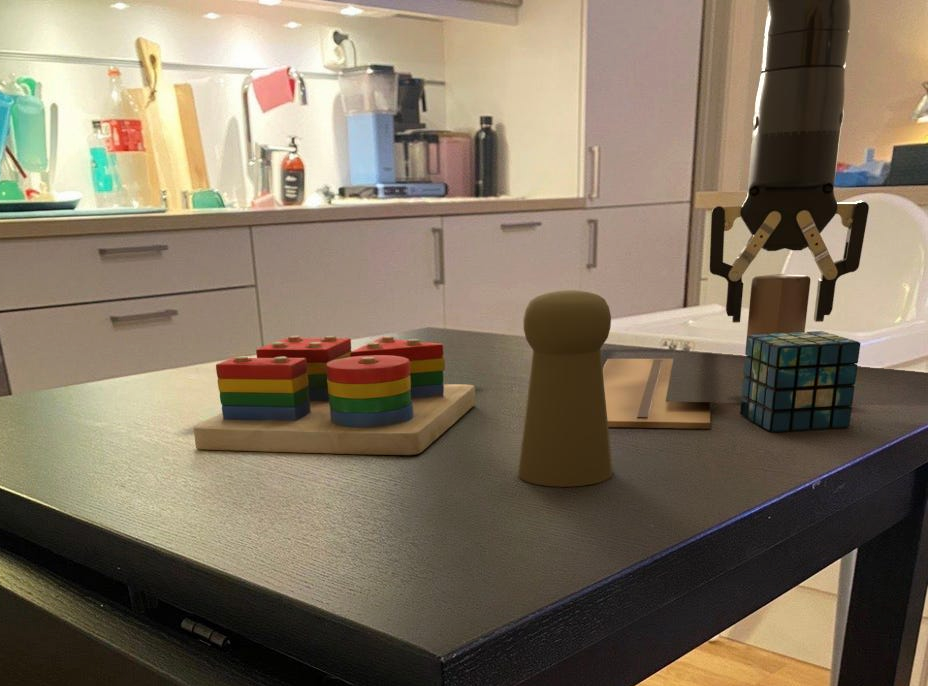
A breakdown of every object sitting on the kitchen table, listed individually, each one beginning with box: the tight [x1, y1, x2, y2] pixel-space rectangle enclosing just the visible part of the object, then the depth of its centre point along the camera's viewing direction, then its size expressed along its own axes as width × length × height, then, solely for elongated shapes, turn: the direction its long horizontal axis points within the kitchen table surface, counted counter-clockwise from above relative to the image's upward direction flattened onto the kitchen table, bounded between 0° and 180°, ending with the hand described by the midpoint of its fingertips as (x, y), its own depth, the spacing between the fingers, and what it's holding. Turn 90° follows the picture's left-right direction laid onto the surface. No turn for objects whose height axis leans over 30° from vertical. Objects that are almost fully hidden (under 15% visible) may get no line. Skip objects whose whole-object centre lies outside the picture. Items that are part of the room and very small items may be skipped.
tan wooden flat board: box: [602, 358, 712, 430], centre depth 85 cm, size 10×28×1 cm, turn 166°
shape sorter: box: [193, 335, 476, 456], centre depth 76 cm, size 18×17×6 cm
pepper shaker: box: [517, 289, 614, 488], centre depth 60 cm, size 6×6×11 cm
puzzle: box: [739, 330, 861, 433], centre depth 71 cm, size 6×6×6 cm
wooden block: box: [746, 273, 812, 337], centre depth 94 cm, size 4×4×8 cm
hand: (776, 320), depth 94 cm, fingers open, 7 cm apart
